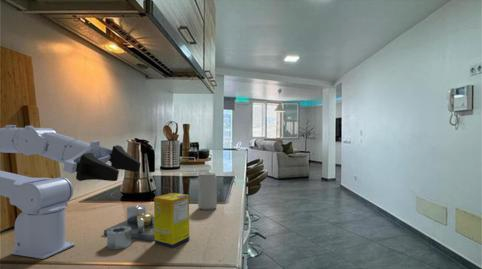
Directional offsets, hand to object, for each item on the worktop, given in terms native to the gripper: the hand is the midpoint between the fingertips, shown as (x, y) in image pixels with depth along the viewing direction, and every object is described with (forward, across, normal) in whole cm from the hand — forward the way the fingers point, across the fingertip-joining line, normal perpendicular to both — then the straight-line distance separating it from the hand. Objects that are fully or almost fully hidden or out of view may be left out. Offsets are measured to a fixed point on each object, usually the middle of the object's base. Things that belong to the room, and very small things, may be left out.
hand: (128, 171), depth 60 cm
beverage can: (+9, +39, +21) cm, 45 cm away
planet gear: (-1, +3, +19) cm, 20 cm away
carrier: (-1, +15, +21) cm, 25 cm away
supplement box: (+10, +8, +17) cm, 21 cm away
